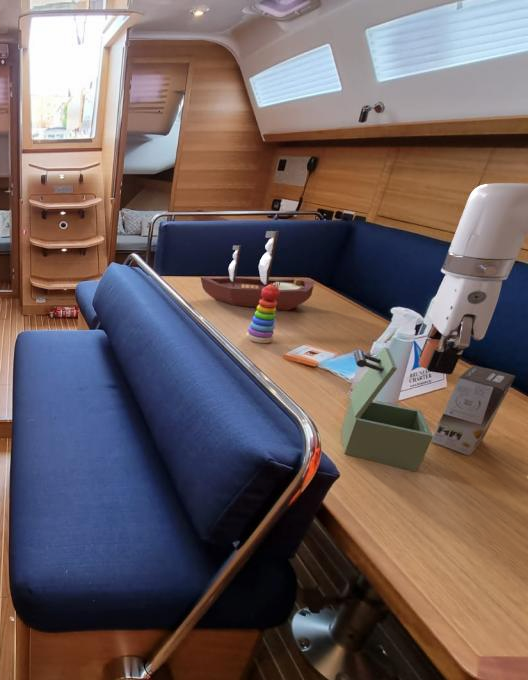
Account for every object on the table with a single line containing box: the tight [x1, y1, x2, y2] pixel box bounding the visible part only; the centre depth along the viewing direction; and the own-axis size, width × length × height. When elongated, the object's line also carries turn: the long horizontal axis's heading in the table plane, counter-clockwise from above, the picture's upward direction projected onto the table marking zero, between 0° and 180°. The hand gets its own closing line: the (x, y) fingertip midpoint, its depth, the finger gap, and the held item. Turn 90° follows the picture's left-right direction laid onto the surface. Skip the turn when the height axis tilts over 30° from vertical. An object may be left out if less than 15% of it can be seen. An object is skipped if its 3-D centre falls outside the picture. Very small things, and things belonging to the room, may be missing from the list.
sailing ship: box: [200, 230, 315, 312], centre depth 165 cm, size 18×40×29 cm, turn 63°
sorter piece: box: [418, 338, 451, 370], centre depth 73 cm, size 4×4×4 cm
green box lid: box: [349, 347, 398, 418], centre depth 85 cm, size 12×10×5 cm
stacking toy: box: [245, 285, 280, 344], centre depth 136 cm, size 8×8×19 cm
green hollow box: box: [340, 399, 433, 473], centre depth 87 cm, size 12×10×9 cm
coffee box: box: [430, 364, 516, 456], centre depth 86 cm, size 9×6×16 cm
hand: (435, 365), depth 74 cm, fingers closed on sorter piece, 4 cm apart
